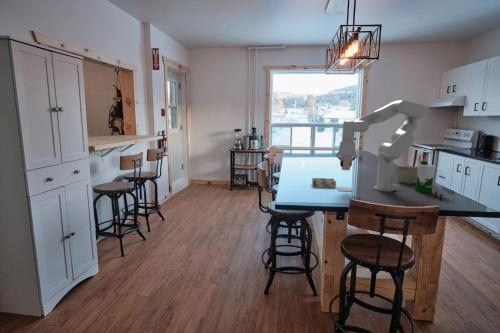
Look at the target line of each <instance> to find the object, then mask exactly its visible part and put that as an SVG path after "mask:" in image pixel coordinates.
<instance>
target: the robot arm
mask: <svg viewBox="0 0 500 333" xmlns="http://www.w3.org/2000/svg"><path fill="white" fill-rule="evenodd" d="M428 113H429V109H428V108H427V106H425V105H423V104H420V103H416V102H412V101H409V100H405V99H403V100H400V99H399V100H395V101H393V102H390V103H389V104H387V105H385V106H383V107H381V108H379V109H377V110H375V111H372V112H370V113H368V114H365V115H364V116H362V117H360V118H357V119H355V120H344V121H343V123H342V124H343V125H342V135H341V136H342V137H341V141H340V142H339V148H338V152H337V153H336V154H335V157H336V158H337V159H338V160H339V161H340V162H339V164H340V165H339V166H340V167H341V168H342V167H343V157H351V161H350V168H351V167H352V166H353V161H354V160H355V159H357V158H359V156H358V154H357V153H356V142H355V141H357V138H355V133H366V132H367V131H368V130H369V128H370V126H372V125H377V124H382V123H384V122H386V121H389V120H391V118H393V117H396V116H397V115H404V122H403V123H402V125H401V126H399V128H398V129H397V130H396V131H395V132H394V133H393V134H392V135H391V137H390V141H391V142H382V143H381V144H380V145H379V146H378V150H377V154H378V162H377V163H378V164H377V174H376V175H377V176H376V182H375V183H376V184H375V185H374V186H373V189H374V190H375V191H380V192H394V191H395V188H400V184H396V183H393V176H394V168H395V160H396V159H397V160H398V159H399V158H401V156H403V154H404V153H406V151H407V150H409V148H410V147H411V146H413V145H414V143H415V142H414V141H415V135H414V132H416V130H417V129H418V126H419V120H420V119H421V120H422V119H425V117H427V115H428Z"/></svg>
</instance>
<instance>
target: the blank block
mask: <svg viewBox="0 0 500 333" xmlns="http://www.w3.org/2000/svg"><path fill="white" fill-rule="evenodd" d="M350 161H351V157H343V167H341V170H342V171H351V170H350V169H351V167H350Z"/></svg>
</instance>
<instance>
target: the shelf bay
mask: <svg viewBox="0 0 500 333" xmlns="http://www.w3.org/2000/svg"><path fill="white" fill-rule="evenodd" d="M311 185H312V186H313V187H314V188H330V189H331V188H332V189H334V188H336V187H337V181H336V180H335V178H330V177H329V178H327V177H326V178H324V177H312V181H311ZM336 189H337V188H336Z"/></svg>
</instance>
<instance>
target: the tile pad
mask: <svg viewBox="0 0 500 333" xmlns="http://www.w3.org/2000/svg"><path fill="white" fill-rule="evenodd" d="M336 190H338V192H350V193H351V192H352V193H353V192H354V190H353V189H352V188H351V187H347V186H346V187H345V186H336Z"/></svg>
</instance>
